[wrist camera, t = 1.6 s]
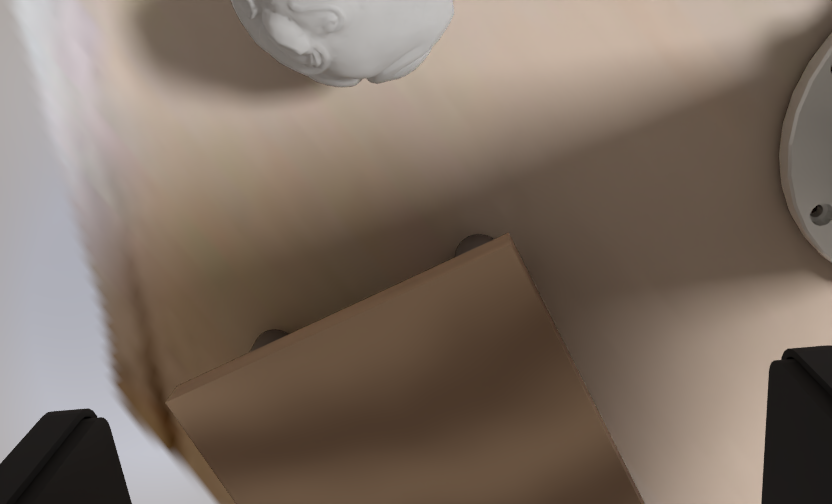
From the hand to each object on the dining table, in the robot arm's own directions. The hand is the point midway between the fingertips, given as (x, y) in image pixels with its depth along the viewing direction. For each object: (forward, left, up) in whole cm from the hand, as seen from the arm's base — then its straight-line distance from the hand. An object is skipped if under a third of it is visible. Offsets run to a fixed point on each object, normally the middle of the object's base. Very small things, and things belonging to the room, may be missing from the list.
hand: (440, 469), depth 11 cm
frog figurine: (-6, -3, -21) cm, 22 cm away
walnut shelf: (+14, 0, -21) cm, 25 cm away
